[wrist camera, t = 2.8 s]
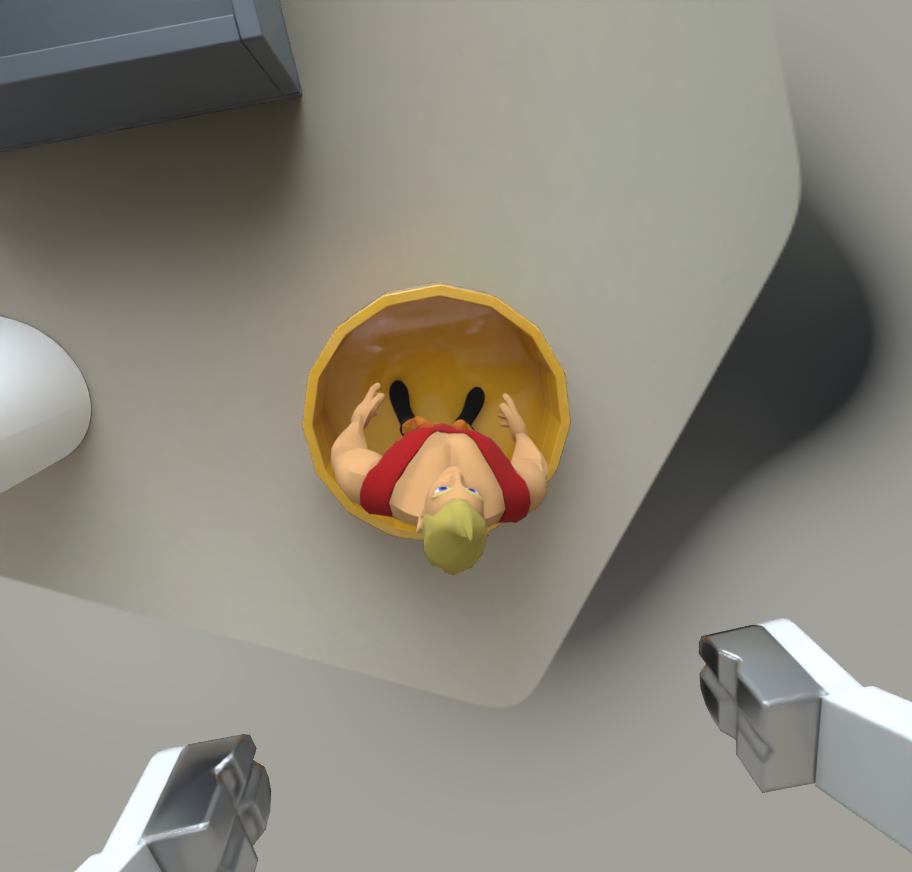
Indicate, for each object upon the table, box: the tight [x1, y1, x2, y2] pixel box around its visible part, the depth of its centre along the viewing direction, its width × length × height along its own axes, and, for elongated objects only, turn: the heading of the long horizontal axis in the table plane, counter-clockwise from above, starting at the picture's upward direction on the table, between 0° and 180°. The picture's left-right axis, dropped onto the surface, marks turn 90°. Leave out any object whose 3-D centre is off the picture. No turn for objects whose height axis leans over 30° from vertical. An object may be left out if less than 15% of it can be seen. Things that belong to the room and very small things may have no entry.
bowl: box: [302, 282, 570, 540], centre depth 27 cm, size 13×13×4 cm
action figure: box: [331, 380, 548, 575], centre depth 21 cm, size 10×4×15 cm, turn 84°
